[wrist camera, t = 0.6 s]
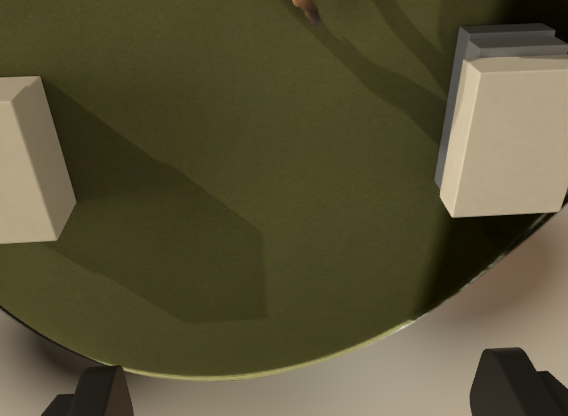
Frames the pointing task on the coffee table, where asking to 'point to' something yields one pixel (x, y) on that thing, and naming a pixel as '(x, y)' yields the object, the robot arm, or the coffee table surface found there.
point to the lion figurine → (309, 10)
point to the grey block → (487, 45)
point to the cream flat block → (508, 137)
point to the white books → (30, 165)
